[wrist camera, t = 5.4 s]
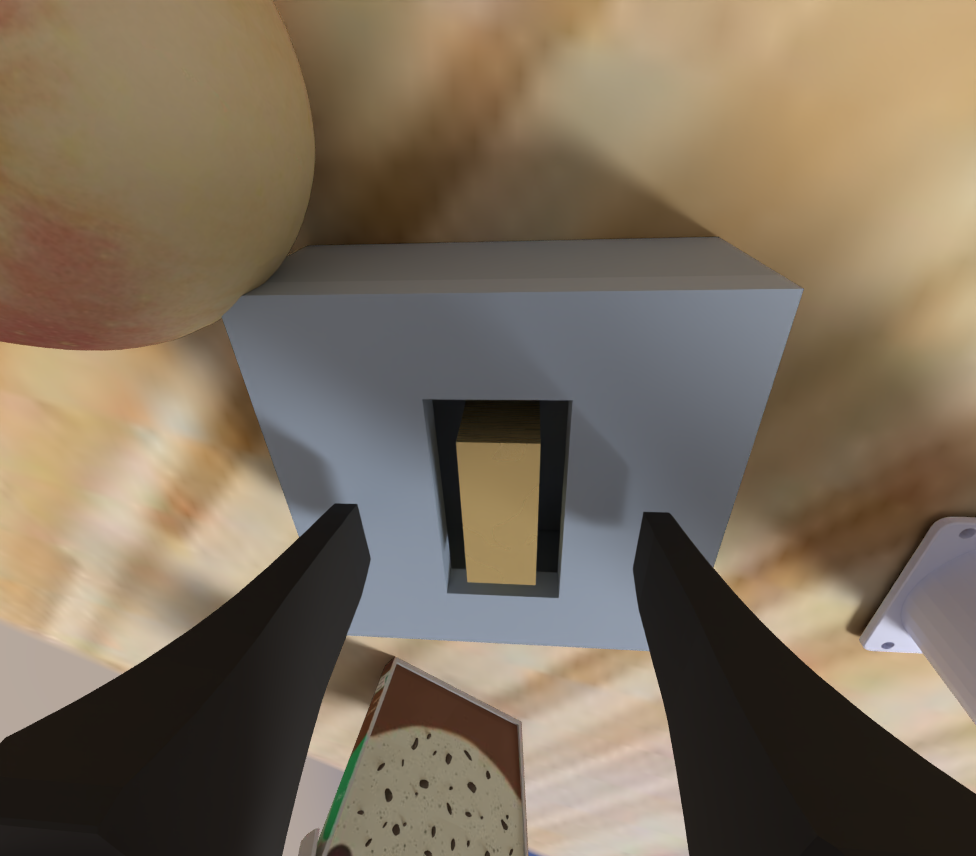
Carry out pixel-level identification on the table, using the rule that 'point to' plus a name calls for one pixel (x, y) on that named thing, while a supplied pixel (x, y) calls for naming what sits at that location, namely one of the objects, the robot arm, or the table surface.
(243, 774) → the robot arm
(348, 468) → the coin box
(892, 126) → the table surface
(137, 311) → the apple
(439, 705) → the food container
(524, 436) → the block
